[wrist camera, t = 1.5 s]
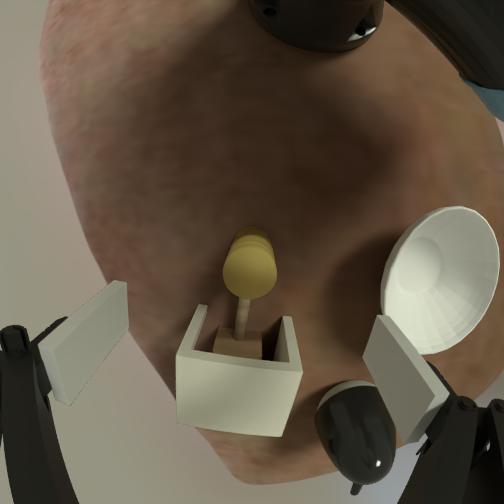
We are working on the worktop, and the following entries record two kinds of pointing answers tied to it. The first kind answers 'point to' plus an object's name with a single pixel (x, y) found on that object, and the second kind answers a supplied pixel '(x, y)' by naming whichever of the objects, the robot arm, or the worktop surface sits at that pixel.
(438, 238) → the bowl
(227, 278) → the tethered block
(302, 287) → the worktop surface
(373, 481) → the pump dispenser
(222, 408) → the cream u-shaped stand
